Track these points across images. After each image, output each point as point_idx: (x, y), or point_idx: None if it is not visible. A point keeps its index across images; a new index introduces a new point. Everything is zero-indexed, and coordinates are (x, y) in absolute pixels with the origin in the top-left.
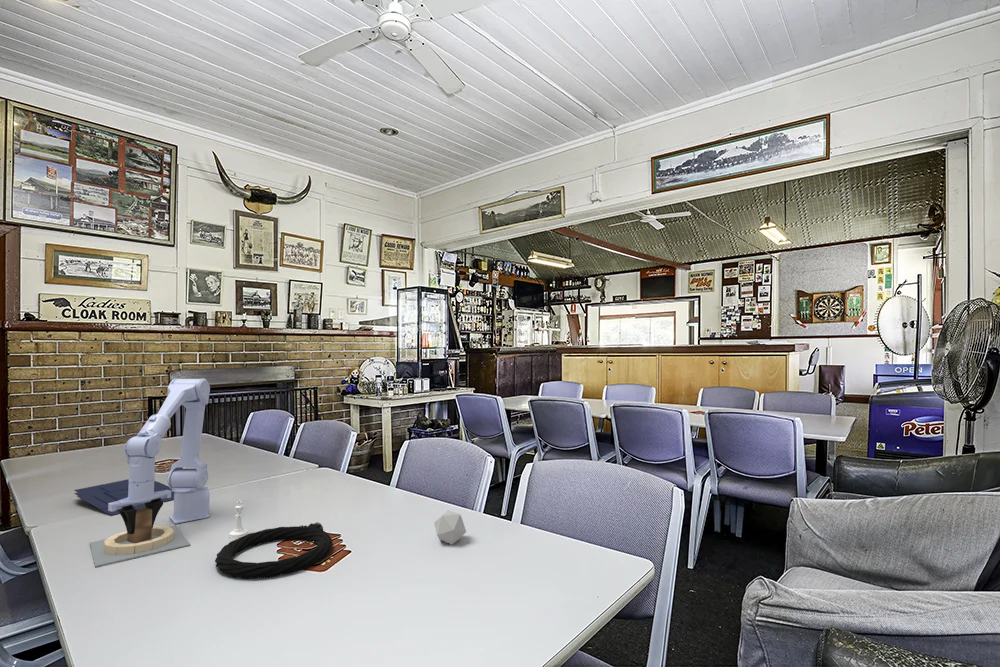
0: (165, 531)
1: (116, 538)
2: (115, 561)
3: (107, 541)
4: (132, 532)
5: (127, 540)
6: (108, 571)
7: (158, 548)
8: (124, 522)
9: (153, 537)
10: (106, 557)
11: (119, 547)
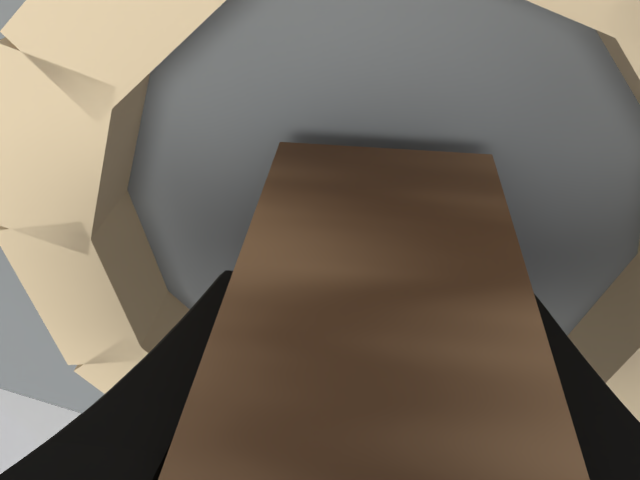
0: (613, 386)
1: (163, 58)
2: (64, 405)
3: (29, 101)
4: None
5: (278, 150)
6: (8, 463)
7: None
8: (121, 383)
9: (584, 177)
10: (25, 290)
11: (91, 378)
